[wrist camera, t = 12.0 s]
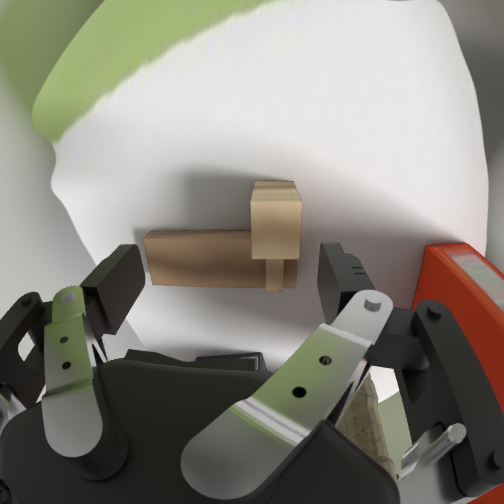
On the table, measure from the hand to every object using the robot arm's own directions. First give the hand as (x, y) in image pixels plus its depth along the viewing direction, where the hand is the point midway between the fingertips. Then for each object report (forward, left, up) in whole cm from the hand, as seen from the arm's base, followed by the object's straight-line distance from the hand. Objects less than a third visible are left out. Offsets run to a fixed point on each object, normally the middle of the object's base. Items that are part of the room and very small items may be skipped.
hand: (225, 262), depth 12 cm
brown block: (+9, -4, -19) cm, 21 cm away
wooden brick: (+6, +2, -19) cm, 20 cm away
